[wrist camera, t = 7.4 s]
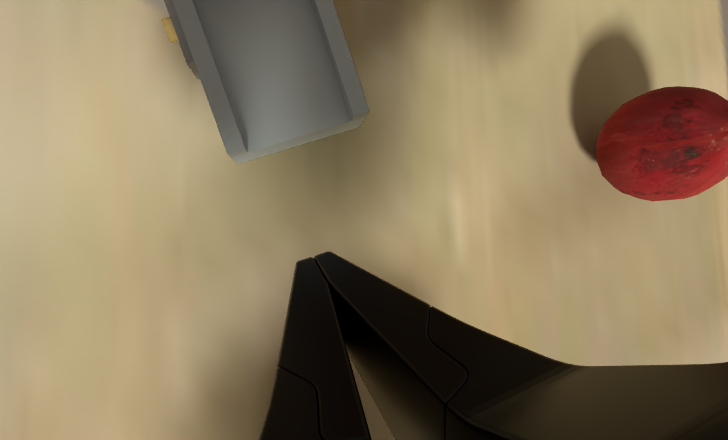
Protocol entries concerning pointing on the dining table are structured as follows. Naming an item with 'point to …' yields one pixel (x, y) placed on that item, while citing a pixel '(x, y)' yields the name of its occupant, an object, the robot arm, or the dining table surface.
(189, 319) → the dining table surface
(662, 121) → the red oval piece
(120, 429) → the dining table surface
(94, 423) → the dining table surface
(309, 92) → the grey piece
